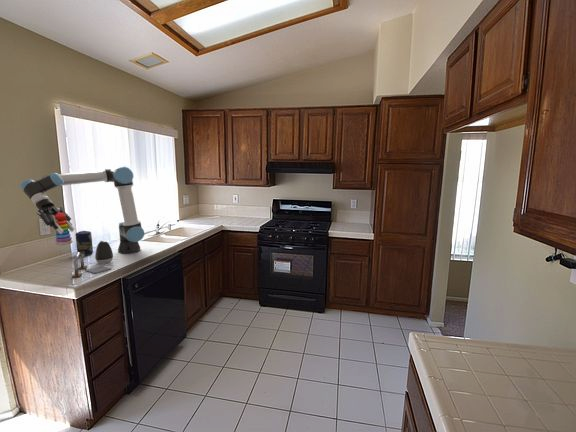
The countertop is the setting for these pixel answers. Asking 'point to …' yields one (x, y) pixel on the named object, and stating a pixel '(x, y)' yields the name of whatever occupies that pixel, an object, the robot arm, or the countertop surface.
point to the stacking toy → (65, 236)
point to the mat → (98, 269)
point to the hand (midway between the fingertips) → (67, 231)
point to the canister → (84, 242)
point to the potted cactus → (103, 253)
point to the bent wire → (77, 265)
